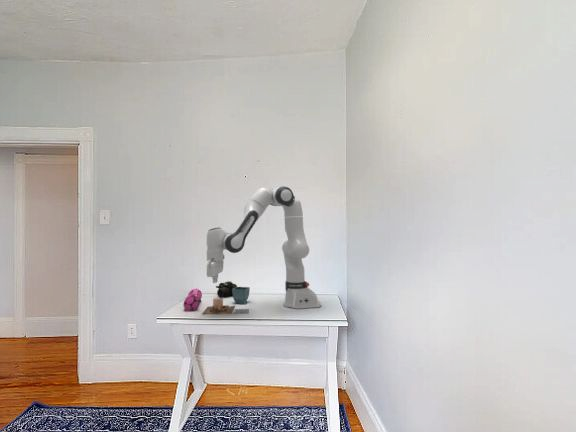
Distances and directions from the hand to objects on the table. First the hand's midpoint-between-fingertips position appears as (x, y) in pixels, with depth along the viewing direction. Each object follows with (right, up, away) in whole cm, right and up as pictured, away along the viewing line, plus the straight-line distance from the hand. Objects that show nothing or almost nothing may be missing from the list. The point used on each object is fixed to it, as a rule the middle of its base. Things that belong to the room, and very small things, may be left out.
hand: (215, 282), depth 191 cm
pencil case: (-16, -18, +15) cm, 28 cm away
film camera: (-1, -18, +41) cm, 45 cm away
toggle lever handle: (+1, -17, +4) cm, 17 cm away
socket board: (+1, -17, +7) cm, 18 cm away
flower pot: (+11, -17, +24) cm, 32 cm away
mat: (+14, -17, +3) cm, 22 cm away
